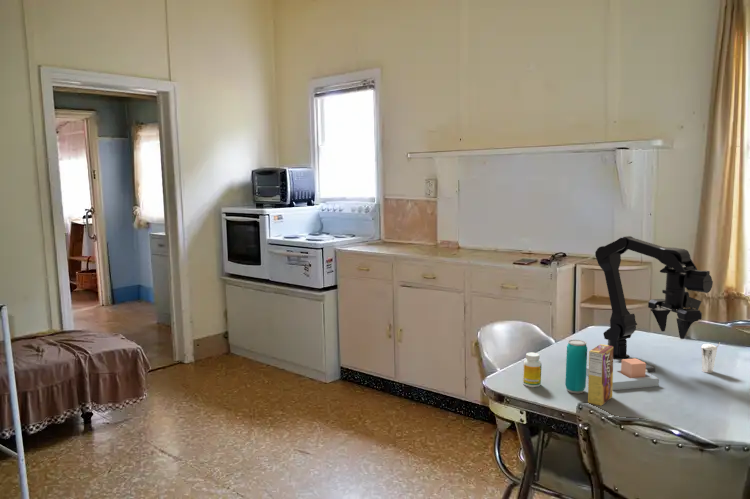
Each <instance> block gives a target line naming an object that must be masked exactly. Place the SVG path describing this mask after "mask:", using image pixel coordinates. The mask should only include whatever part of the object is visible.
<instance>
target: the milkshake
mask: <svg viewBox="0 0 750 499" xmlns="http://www.w3.org/2000/svg"><path fill="white" fill-rule="evenodd" d="M720 344H721V342H719V343H718V344H717V346H716V345H714V344H711V343H703V344H702V345H701V346H700V347H701V348H700V350H701V351H700V352H701V371H702V372H703V373H707V374H713V373H714V367H715V361H716V357H717V352H718V347H719V346H720Z"/></svg>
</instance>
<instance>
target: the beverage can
mask: <svg viewBox="0 0 750 499" xmlns="http://www.w3.org/2000/svg"><path fill="white" fill-rule="evenodd" d="M567 343H568V344H567V345H566V357H565V358H566V359H565V361H566V362H565V382H564V383H565V388H566V390H567V392H568V393H571V394H578V395H579V394H582V393H584V392H585V391H584V390H585V389H586V387H587V386H586V385H587V375H586V367H587V365H588V364H587V363H588V346H587V342H586V341H584V340H582V339H581V340H580V339H569V340H568V341H567Z"/></svg>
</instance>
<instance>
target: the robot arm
mask: <svg viewBox="0 0 750 499" xmlns="http://www.w3.org/2000/svg"><path fill="white" fill-rule="evenodd" d="M628 250H630V251H632V252H635V253H637V254H638V253H639V254H641V255H644V256H648V257H651V258H654V259H656V260H658V261H659V262H660V263H661V264H663V265H664V267H663V268H662V269H660V270H659V272H660V273H661V274H666V277H665V278H666V279H665V289H662V294H664V298H651V299H650V300H649V301H648V304H647V306H648V307H647V308H649V309H650V312H652V314H653V316H654V318H655V320H656V322H657V325H658V326H659V329H660V332H666V328H667V319H668V315H669V314H670V313H671V312H673V313H676V315H677V317H676V324H677V330H678V334H679V338H680V340H684V339H685V338H686V336H687V333H688V331H689V329H690V327H691V326H692V325H693V323H695V322H699V320H703V319H702V318H703V317H702V316H703V313H702V312H701V310H700V307H701V304H702V301H701V300H700V299H697V298H694V297H691V296H690V294H689V291H690V292H691V291H692V292H698V293H704V294H708V293H710V292H711V290H712V288H713V285H714V281H713V278H712V275H711V274H710V273H711V272H710V270H701V269H700V270H698V268H697V266H696V265H695V263H694V261H693V260H692V258H691V255H690V253H689V251H688V250H687V249H685V248H677V247H669V246H668V247H667V246H663V245H659V244H654V243H651V242H648V241H645V240H641V239H639V238H635V237H633V236H631V235H628V236H627V235H626V236H621V237H619V238H618V239H616V240H614V241H612V242H610V243H607V244H606V245H602V246H599V247H597V249H596V250H595V254H594V256H595V259H596V262H597V264H598V266H599V267H600V269H601V270H602V271H603V273H604V277H605V282H606V287H607V288H606V289H607V293H608V297H609V302H610V307H611V315H610V319H609V326H610V327H609V328H608V329H607V330H605V331H604V332H603V338H604V340H607V345H609V346H613V359H622V358H623V359H624V358H625V359H626V358H630V357H631V356H630V355H629V354H627V351H628V350H627V349H628V348H627V342H628V340H627V339H630V338H631V337H632V334H634V333H635V331H636V330H637V325H638V323H637V322H636V314H635V313H631V312H630V311H629V310H628V308H627V304H626V299H625V298H626V297H625V293H624V289H623V284H622V280H621V274H620V269H619V268H620V266H621V261H622V257H621V256H622V255H623V254H624V253H626V252H627V251H628ZM686 290H687V291H686Z"/></svg>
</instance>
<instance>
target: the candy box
mask: <svg viewBox="0 0 750 499" xmlns="http://www.w3.org/2000/svg"><path fill="white" fill-rule="evenodd" d="M613 363H614V358H613V346H609V345H608V344H601V343H600V344H599V345H597V346H595V347H594V348H592V349H591V350H589V351H588V365H589V376H588V380H587V381H588V382H587V384H588V388H587V390H588V391H587V403H588V404H591V405H596V406H600V407H601V406H603V405H605V403H607V402H608V401H609V400H610V399H612V398H613V390H612V389H613Z"/></svg>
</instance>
